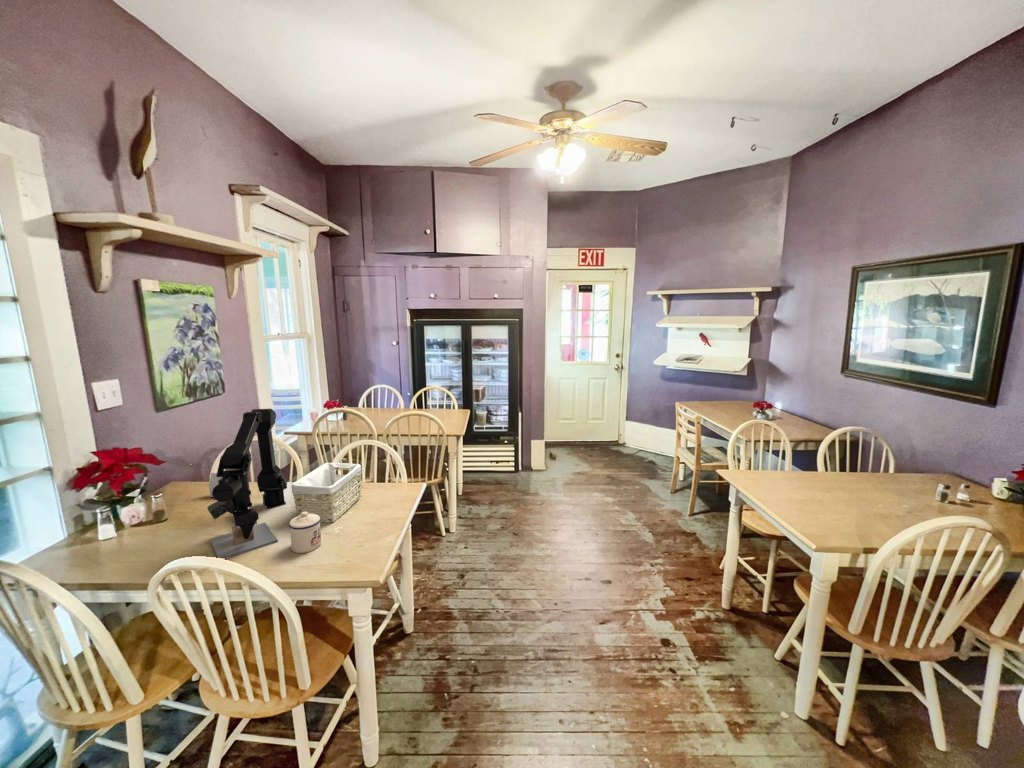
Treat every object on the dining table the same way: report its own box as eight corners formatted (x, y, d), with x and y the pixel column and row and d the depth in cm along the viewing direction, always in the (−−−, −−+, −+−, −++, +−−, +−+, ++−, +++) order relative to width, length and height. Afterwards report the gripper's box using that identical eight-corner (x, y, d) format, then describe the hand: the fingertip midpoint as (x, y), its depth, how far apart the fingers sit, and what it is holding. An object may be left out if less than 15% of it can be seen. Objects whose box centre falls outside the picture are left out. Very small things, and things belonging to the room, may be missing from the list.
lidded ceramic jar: (317, 552, 129) (314, 518, 127) (286, 555, 128) (283, 520, 126) (328, 533, 141) (326, 501, 139) (300, 535, 140) (297, 503, 138)
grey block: (226, 498, 168) (224, 474, 167) (210, 498, 168) (207, 474, 167) (232, 494, 172) (230, 471, 170) (216, 494, 172) (214, 471, 170)
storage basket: (333, 525, 147) (331, 486, 144) (291, 523, 148) (288, 484, 146) (364, 497, 170) (363, 463, 168) (327, 495, 172) (325, 461, 170)
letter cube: (250, 533, 139) (249, 519, 138) (254, 539, 135) (252, 524, 135) (233, 538, 136) (231, 524, 135) (236, 544, 132) (234, 529, 131)
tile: (265, 524, 147) (265, 522, 147) (277, 541, 135) (277, 539, 135) (210, 540, 136) (210, 538, 136) (219, 561, 125) (218, 558, 124)
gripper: (203, 486, 134) (208, 531, 136) (213, 505, 121) (218, 554, 123) (243, 478, 142) (247, 520, 144) (256, 494, 128) (261, 541, 131)
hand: (243, 533), depth 135 cm, fingers open, 9 cm apart
